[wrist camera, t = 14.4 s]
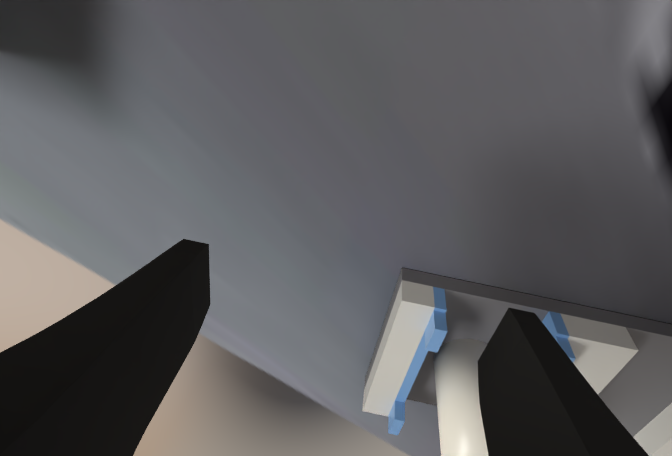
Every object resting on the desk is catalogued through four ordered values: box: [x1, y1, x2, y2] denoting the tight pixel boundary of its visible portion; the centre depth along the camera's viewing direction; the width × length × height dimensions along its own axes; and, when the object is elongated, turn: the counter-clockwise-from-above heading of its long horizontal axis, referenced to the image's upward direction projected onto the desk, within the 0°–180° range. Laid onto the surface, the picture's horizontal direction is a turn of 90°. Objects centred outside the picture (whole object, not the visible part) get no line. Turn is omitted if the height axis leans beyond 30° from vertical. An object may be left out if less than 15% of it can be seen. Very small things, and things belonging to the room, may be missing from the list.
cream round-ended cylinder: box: [434, 339, 489, 456], centre depth 22 cm, size 4×4×8 cm
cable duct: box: [362, 268, 672, 456], centre depth 24 cm, size 20×10×4 cm, turn 81°
